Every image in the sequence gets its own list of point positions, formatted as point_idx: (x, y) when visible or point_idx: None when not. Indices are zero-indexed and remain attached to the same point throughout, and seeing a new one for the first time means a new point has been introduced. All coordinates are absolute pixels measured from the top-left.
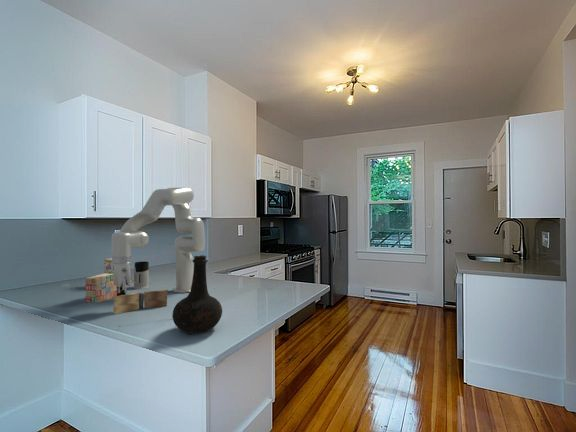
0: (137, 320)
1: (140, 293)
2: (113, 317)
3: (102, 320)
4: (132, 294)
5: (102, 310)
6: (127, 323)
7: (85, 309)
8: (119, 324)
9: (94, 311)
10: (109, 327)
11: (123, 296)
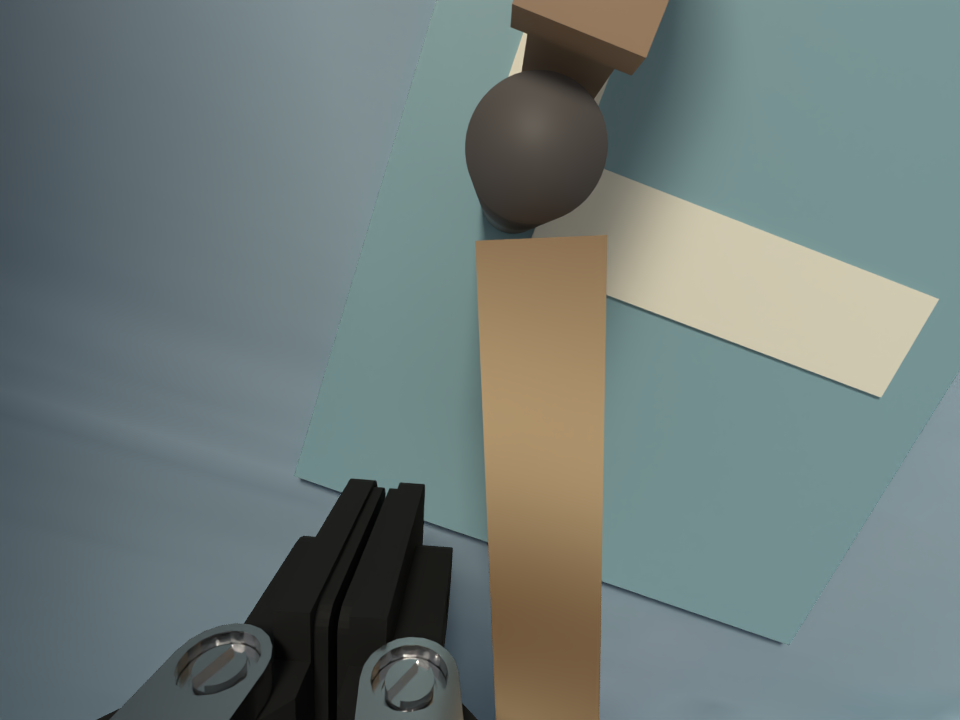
0: (949, 422)
1: (527, 176)
2: None
3: (601, 688)
4: (602, 466)
5: (171, 581)
6: (950, 545)
7: (7, 695)
8: (903, 615)
9: (161, 652)
10: (908, 708)
11: (595, 678)
